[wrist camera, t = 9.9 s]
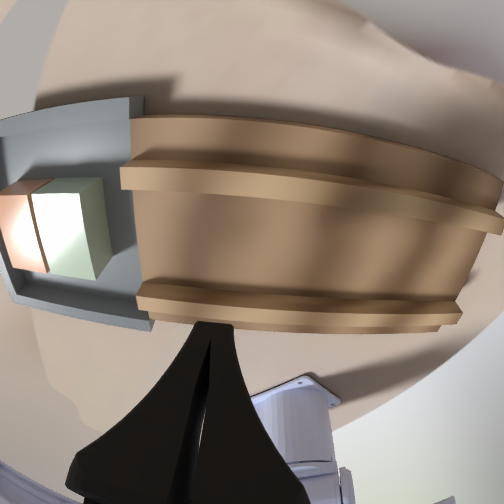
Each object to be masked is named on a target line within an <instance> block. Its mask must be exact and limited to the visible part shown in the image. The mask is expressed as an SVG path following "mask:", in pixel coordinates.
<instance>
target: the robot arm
mask: <svg viewBox="0 0 504 504" xmlns="http://www.w3.org/2000/svg"><path fill="white" fill-rule="evenodd" d="M340 403H341V401H340V399H339V398H337V397H336V396H335V395H333V394H332V393H330V392H329V391H328V390H326V389H325V388H324V387H322V386H321V385H319V384H318V383H317V382H315V381H314V380H313V379H311V378H310V377H309V376H301V377H299V378H297V379H295V380H292V381H290V382H288V383H285V384H283V385H281V386H278V387H276V388H274V389H271V390H269V391H266V392H264V393H261V394H259V395H256V396H253V397H251V398H250V396H249V393H248V390H247V388H246V385H245V382H244V379H243V376H242V373H241V369H240V365H239V362H238V358H237V353H236V348H235V342H234V326H233V325H232V324H226V323H215V322H205V321H197V322H196V323H195V325H194V327H193V329H192V331H191V333H190V335H189V337H188V338H187V340H186V342H185V343H184V345H183V347H182V348H181V350H180V351H179V353H178V354H177V356H176V357H175V359H174V361H173V362H172V363H171V365H170V366H169V368H168V369H167V370H166V372H165V373H164V374H163V376H162V377H161V378H160V380H159V381H158V382H157V383H156V385H155V386H154V387H153V388H152V389H151V390H150V392H149V393H148V394H147V395H146V396H145V397H144V398H143V399H142V400H141V401H140V402H139V403H138V404H137V405H136V406H135V407H134V408H133V409H132V410H131V411H130V412H129V413H128V414H127V415H126V416H125V417H124V418H123V419H122V420H121V421H119V422H118V423H117V424H116V425H115V426H113V427H112V428H111V429H110V430H108V431H107V432H106V433H105V434H104V435H103V436H101V437H99V438H98V439H97V440H95V441H94V442H92V443H91V444H89V445H88V446H86V447H85V448H83V449H82V450H80V451H79V452H77V453H76V455H75V458H74V459H73V461H72V463H71V466H70V468H69V472H68V475H67V479H66V482H65V485H66V487H67V488H68V489H70V490H72V491H73V492H75V493H77V494H79V495H81V496H83V497H85V498H84V503H83V504H355V496H354V488H353V481H352V475H351V471H350V470H348V469H346V468H345V467H341V468H339V470H340V485H341V486H340V485H339V476H338V468H337V462H336V459H335V452H334V444H333V437H332V430H331V423H330V416H329V410H328V409H329V408H331V407H334V406H336V405H338V404H340ZM205 409H206V411H205ZM204 414H205V417H204ZM203 419H204V423H203ZM202 423H203V429H202V435H201V441H200V434H201V428H202ZM199 441H200V446H199ZM198 451H199V452H198ZM0 504H82V503H80V502H77V501H75V500H72V499H70V498H68V497H65V496H63V495H61V494H59V493H57V492H55V491H53V490H51V489H48V488H47V487H45V486H43V485H41V484H39V483H37V482H35V481H33V480H32V479H30V478H28V477H26V476H25V475H23V474H21V473H19V472H18V471H16V470H14V469H13V468H11V467H10V466H8V465H7V464H5V463H4V462H2V461H0ZM434 504H456V503H455V498H454V496H451V497H449V498H447V499H444V500H442V501H440V502H437V503H434Z"/></svg>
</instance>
